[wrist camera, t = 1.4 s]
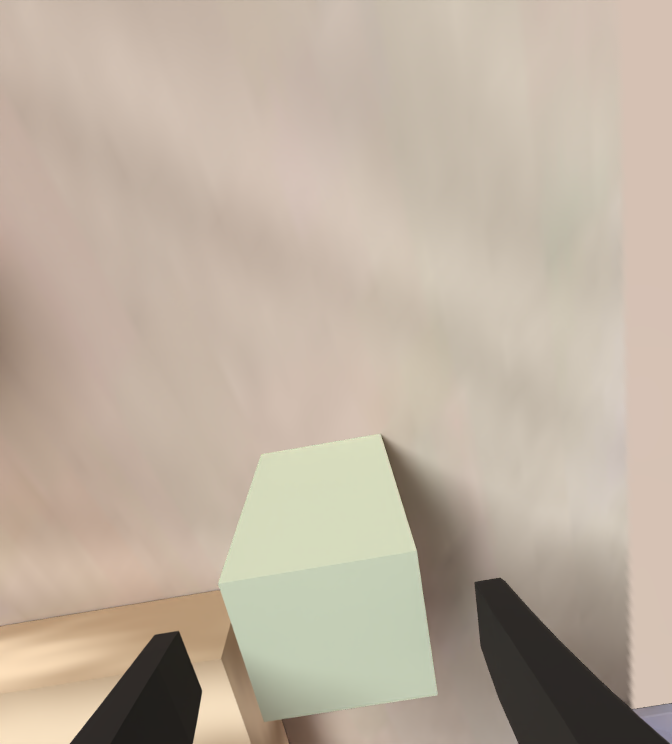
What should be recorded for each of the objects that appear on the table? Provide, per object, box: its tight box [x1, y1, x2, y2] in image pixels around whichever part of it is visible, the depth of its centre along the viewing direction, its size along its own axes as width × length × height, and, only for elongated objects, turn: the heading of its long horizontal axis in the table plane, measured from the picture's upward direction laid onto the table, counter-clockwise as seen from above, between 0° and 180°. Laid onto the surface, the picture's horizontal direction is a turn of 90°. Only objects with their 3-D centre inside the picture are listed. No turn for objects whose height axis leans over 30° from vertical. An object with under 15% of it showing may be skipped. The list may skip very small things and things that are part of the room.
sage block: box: [218, 434, 438, 722], centre depth 12 cm, size 4×4×6 cm
